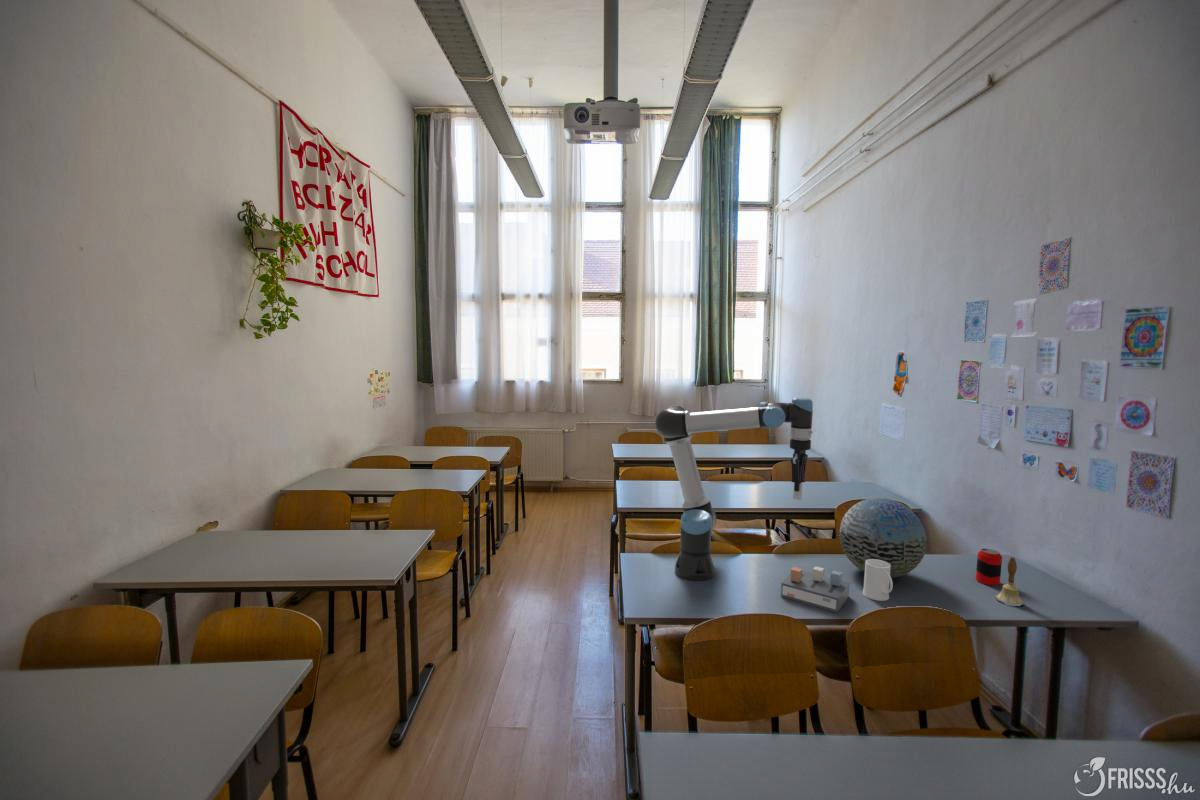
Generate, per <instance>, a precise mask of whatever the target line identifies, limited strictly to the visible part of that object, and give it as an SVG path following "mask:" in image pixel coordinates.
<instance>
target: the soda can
mask: <svg viewBox="0 0 1200 800" xmlns="http://www.w3.org/2000/svg"><path fill="white" fill-rule="evenodd" d="M976 558H977V560H976V570H975V571H976V572H975V580H976V581H977V582H978V583H980V584H982V583H983V585H985V584H987V585H986V586H990V585H997V586H999V585H1000V584H1001V575H1002V574H1001V573H1002V565H1003V564H1002V563H1003V556H1002V555H1001V553H1000V551H997V550H995V549H992V548H981V549H980V550H979V551H978V552H977V557H976Z"/></svg>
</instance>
